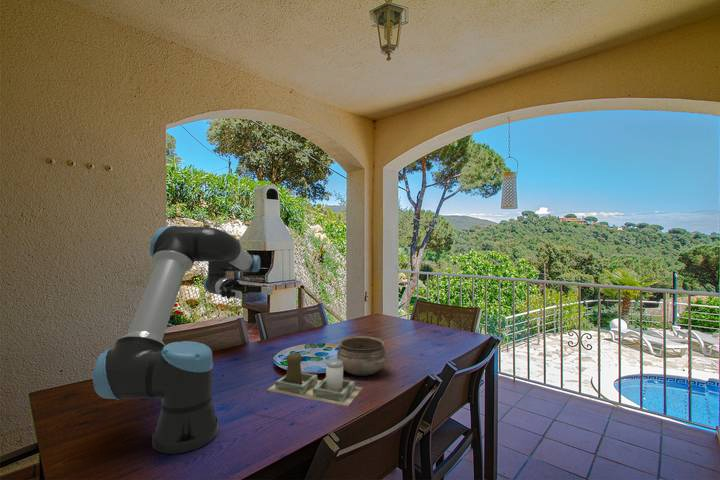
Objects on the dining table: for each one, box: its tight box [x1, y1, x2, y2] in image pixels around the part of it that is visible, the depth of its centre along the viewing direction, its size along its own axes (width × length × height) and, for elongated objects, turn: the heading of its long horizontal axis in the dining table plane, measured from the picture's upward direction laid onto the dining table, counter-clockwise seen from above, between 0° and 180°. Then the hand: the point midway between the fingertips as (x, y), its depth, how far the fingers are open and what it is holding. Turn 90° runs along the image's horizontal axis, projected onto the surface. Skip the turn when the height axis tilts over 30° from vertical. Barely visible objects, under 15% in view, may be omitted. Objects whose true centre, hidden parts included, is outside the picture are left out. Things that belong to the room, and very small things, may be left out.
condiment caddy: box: [265, 371, 363, 408], centre depth 114 cm, size 14×29×4 cm, turn 70°
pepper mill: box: [285, 352, 303, 385], centre depth 116 cm, size 6×6×11 cm
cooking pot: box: [336, 335, 388, 377], centre depth 131 cm, size 25×19×12 cm
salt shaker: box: [325, 358, 344, 392], centre depth 112 cm, size 6×6×10 cm
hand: (256, 293), depth 132 cm, fingers open, 13 cm apart
